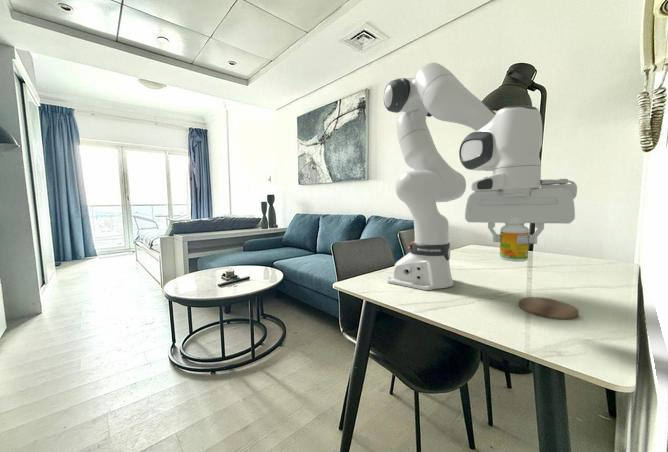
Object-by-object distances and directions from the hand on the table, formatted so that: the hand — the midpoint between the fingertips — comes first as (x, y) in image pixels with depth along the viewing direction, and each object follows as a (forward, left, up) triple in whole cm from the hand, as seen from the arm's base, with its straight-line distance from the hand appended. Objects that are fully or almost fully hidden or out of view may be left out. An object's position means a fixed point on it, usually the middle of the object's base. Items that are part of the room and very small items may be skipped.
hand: (514, 242), depth 62 cm
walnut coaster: (+8, +13, -19) cm, 24 cm away
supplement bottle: (0, 0, -4) cm, 4 cm away
